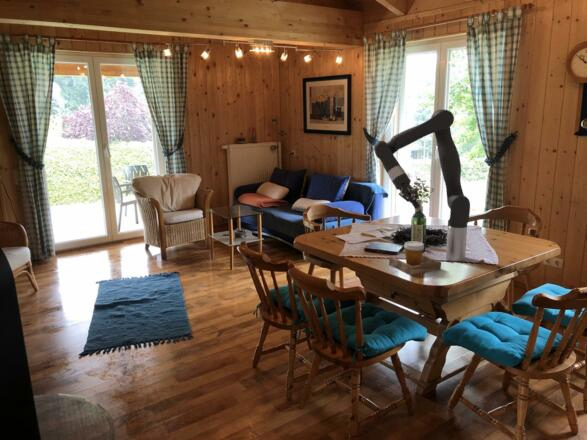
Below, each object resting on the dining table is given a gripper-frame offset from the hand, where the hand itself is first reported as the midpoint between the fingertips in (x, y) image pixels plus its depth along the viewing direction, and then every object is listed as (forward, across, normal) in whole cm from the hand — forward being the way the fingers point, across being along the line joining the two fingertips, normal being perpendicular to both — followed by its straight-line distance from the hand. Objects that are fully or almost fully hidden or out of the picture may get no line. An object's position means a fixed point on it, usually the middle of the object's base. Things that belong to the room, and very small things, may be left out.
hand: (417, 207), depth 215 cm
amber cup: (+21, +6, +22) cm, 31 cm away
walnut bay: (+21, +6, +22) cm, 31 cm away
